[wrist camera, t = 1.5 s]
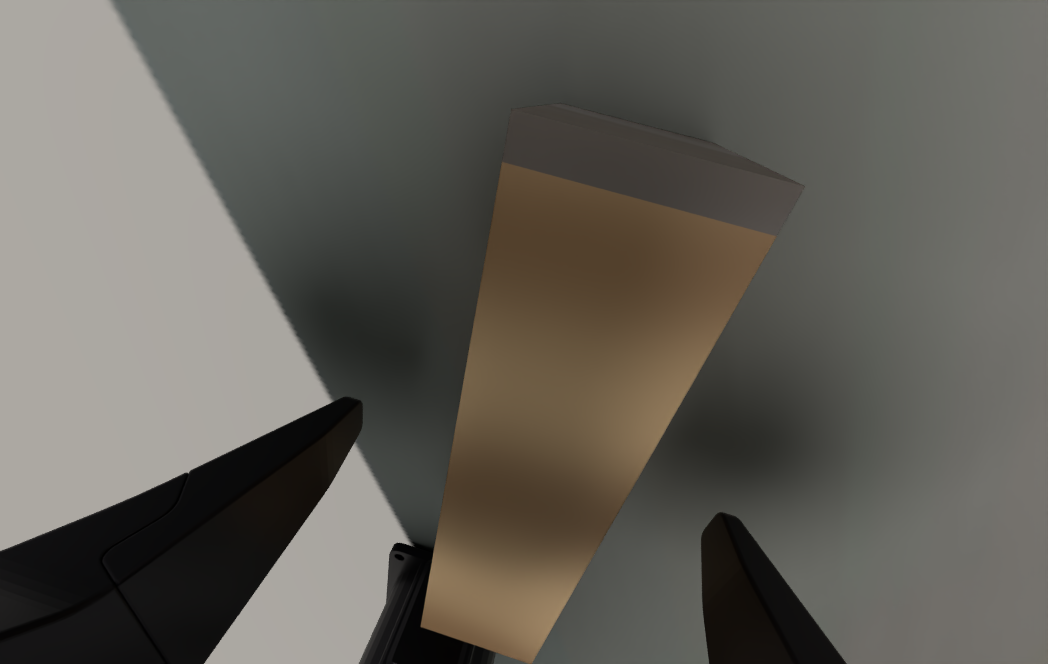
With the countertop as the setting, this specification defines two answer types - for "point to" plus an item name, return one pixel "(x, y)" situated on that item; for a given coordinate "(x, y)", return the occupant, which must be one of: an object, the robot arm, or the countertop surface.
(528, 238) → the oak rail
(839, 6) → the countertop surface
